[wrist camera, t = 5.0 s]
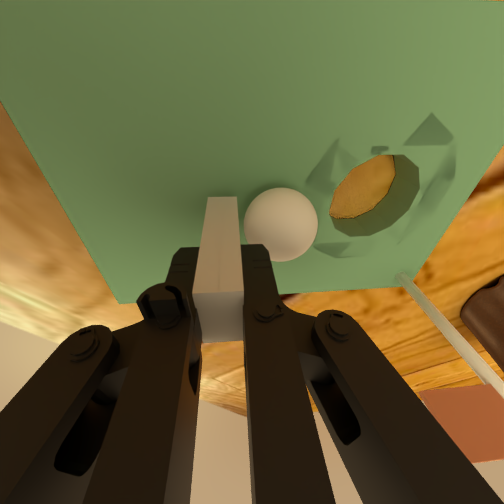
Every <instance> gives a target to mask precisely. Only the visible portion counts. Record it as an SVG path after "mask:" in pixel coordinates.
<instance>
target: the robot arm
mask: <svg viewBox="0 0 504 504" xmlns="http://www.w3.org/2000/svg"><path fill="white" fill-rule="evenodd" d="M170 265H171V266H170V267H169V271H168V274H167V277H166V280H165V282H164V283H158V284H156V285H153V286H151V287H149V288H147V289H146V290H145V291H144V292H142V293H141V294H140V296H139V297H138V299H137V300H136V303H137V305H138V307H139V309H140V311H141V313H142V315H143V317H144V320H142V321H140V322H138V323H136V324H133V325H130V326H127V327H124V328H121V329H118V330H115V331H112V332H111V330H110V329H109V328H108V327H106V326H103V325H91V326H88V327H85V328H82V329H80V330H78V331H76V332H75V333H73V334H71V335H70V336H69V337H68V338H67V339H65V340H64V341H63V342H62V343H61V344H60V345H59V346H58V348H57V349H56V350H55V351H54V352H53V353H52V354H51V355H50V357H49V358H48V359H47V360H46V361H45V363H43V365H42V366H41V367H40V368H39V369H38V370H37V371H36V372H35V374H34V375H33V376H32V377H31V378H30V379H29V381H28V382H27V383H26V384H25V385H24V386H23V387H22V389H20V391H19V392H18V393H17V394H16V395H15V396H14V397H13V398H12V400H11V401H10V402H9V403H8V404H7V405H6V406H5V408H4V409H3V410H2V411H1V412H0V504H190V494H191V483H192V471H193V459H194V448H195V436H196V426H197V414H198V403H199V391H200V380H201V369H202V353H201V342H202V340H203V343H212V342H226V341H240V340H243V342H244V367H245V385H246V403H247V420H248V439H249V455H250V456H249V457H250V474H251V493H252V504H336V503H335V499H334V495H333V491H332V487H331V483H330V479H329V475H328V471H327V467H326V463H325V459H324V455H323V451H322V447H321V443H320V439H319V435H318V431H317V428H316V423H315V419H314V415H313V411H312V407H311V403H310V399H309V395H308V391H307V388H308V390H309V392H310V394H311V396H312V398H313V400H314V402H315V404H316V406H317V408H318V411H319V413H320V415H321V416H322V419H323V421H324V423H325V425H326V427H327V429H328V431H329V433H330V435H331V438H332V440H333V442H334V444H335V446H336V448H337V450H338V452H339V454H340V456H341V458H342V461H343V462H344V465H345V467H346V469H347V471H348V473H349V475H350V477H351V479H352V481H353V483H354V485H355V488H356V490H357V492H358V494H359V496H360V498H361V500H362V502H363V504H504V503H503V502H502V500H501V499H500V498H499V497H498V495H497V494H496V493H495V492H494V491H493V489H492V488H491V487H490V486H489V484H488V483H487V482H486V481H485V479H484V478H483V477H482V476H481V475H480V473H479V472H478V471H477V470H476V468H475V467H474V466H473V465H472V463H471V462H470V461H469V460H468V458H467V457H466V456H465V455H464V453H463V452H462V451H461V450H460V448H459V447H458V446H457V445H456V444H455V442H454V441H453V440H452V439H451V437H450V436H449V435H448V434H447V432H446V431H445V430H444V429H443V427H442V426H441V425H440V424H439V423H438V421H437V420H436V419H435V418H434V416H433V415H432V414H431V413H430V411H429V410H428V409H427V408H426V407H425V405H424V404H423V403H422V402H421V400H420V399H419V398H418V397H417V395H416V394H415V393H414V392H413V390H412V389H411V388H410V387H409V386H408V384H407V383H406V382H405V381H404V379H403V378H402V377H401V376H400V374H399V373H398V372H397V371H396V369H395V368H394V367H393V366H392V365H391V363H390V362H389V361H388V360H387V358H386V357H385V356H384V355H383V353H382V352H381V351H380V350H379V348H378V347H377V346H376V345H375V344H374V342H373V341H372V340H371V339H370V337H369V336H368V335H367V334H366V332H365V331H364V330H363V329H362V327H361V326H360V325H359V324H358V323H357V322H356V321H355V320H354V319H353V318H352V317H351V316H350V315H348V314H346V313H344V312H342V311H338V310H325V311H323V312H321V313H319V314H318V316H317V317H314V316H310V315H306V314H301V313H298V312H295V311H293V310H291V309H289V308H288V307H287V306H286V305H285V304H284V303H283V302H282V301H281V299H280V296H279V293H278V289H277V284H276V280H275V276H274V272H273V268H272V263H271V259H270V255H269V251H268V250H267V249H266V247H265V246H264V245H263V244H241V245H240V233H239V220H238V207H237V197H208V200H207V206H206V212H205V218H204V224H203V230H202V237H201V243H200V247H180V249H179V250H178V251H177V252H176V253H175V254H174V255H173V258H172V261H171V264H170ZM305 383H306V384H305ZM306 386H307V387H306Z"/></svg>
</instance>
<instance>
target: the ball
mask: <svg viewBox="0 0 504 504" xmlns="http://www.w3.org/2000/svg"><path fill="white" fill-rule="evenodd" d="M317 228H318V219H317V214H316V211H315V209H314V207H313V205H312V203H311V202H310V201H309V200H308V199H307V198H306V197H305V196H304V195H303V194H301V193H300V192H298V191H296V190H293V189H290V188H273V189H269V190H267V191H265V192H263V193H261V194H260V195H258V196H257V197H256V198H255V199H254V200H253V201H252V202H251V204H250V205H249V207H248V209H247V211H246V213H245V217H244V233H245V237H246V240H247V242H248V244H263V245H264V246H265V247H266V249H267V250H268V251H269V255H270V259H271V261H276V262H284V261H289V260H293V259H295V258H297V257H299V256H301V255H302V254H304V253H305V252H306V251H307V250H308V249H309V247H310V246H311V245H312V243H313V241H314V239H315V237H316V234H317Z"/></svg>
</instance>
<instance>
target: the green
mask: <svg viewBox="0 0 504 504" xmlns="http://www.w3.org/2000/svg"><path fill="white" fill-rule="evenodd" d="M0 101H1V103H2V105H3V106H4V108H5V110H6V112H7V113H8V115H9V117H10V118H11V120H12V122H13V124H14V125H15V127H16V129H17V130H18V132H19V134H20V135H21V137H22V139H23V141H24V142H25V144H26V146H27V147H28V149H29V151H30V153H31V154H32V156H33V158H34V159H35V161H36V163H37V165H38V166H39V168H40V170H41V171H42V173H43V175H44V177H45V178H46V180H47V182H48V183H49V185H50V187H51V189H52V190H53V192H54V194H55V195H56V197H57V199H58V201H59V202H60V204H61V206H62V207H63V209H64V211H65V212H66V214H67V216H68V218H69V219H70V221H71V223H72V224H73V226H74V228H75V230H76V231H77V233H78V235H79V236H80V238H81V240H82V242H83V243H84V245H85V247H86V248H87V250H88V252H89V254H90V255H91V257H92V259H93V260H94V262H95V264H96V266H97V267H98V269H99V271H100V272H101V274H102V276H103V278H104V279H105V281H106V283H107V284H108V286H109V288H110V289H111V291H112V293H113V295H114V296H115V298H116V300H117V301H118V303H119V304H128V303H136V300H137V299H138V297H139V296H140V294H141V293H142V292H144V291H145V290H146V289H147V288H149V287H151V286H153V285H156V284H158V283H164V282H165V280H166V277H167V274H168V271H169V267H170V266H171V265H170V264H171V261H172V258H173V255H174V254H175V253H176V252H177V251H178V250H179V249H180V247H200V243H201V237H202V230H203V224H204V218H205V212H206V206H207V200H208V197H237V207H238V220H239V233H240V245H241V244H248V242H247V240H246V237H245V233H244V217H245V213H246V211H247V209H248V207H249V205H250V204H251V202H252V201H253V200H254V199H255V198H256V197H257V196H258V195H260V194H261V193H263V192H265V191H267V190H269V189H273V188H290V189H293V190H296V191H298V192H300V193H301V194H303V195H304V196H305V197H306V198H307V199H308V200H309V201H310V202H311V203H312V205H313V207H314V209H315V211H316V214H317V219H318V228H317V234H316V237H315V239H314V241H313V243H312V245H311V246H310V247H309V249H308V250H307V251H306V252H305V253H304V254H302V255H301V256H299V257H297V258H295V259H293V260H289V261H284V262H276V261H271V263H272V268H273V272H274V276H275V280H276V284H277V289H278V293H279V294H290V293H306V292H323V291H339V290H355V289H371V288H388V287H403V286H402V285H401V284H400V282H399V281H398V280H397V279H396V278H395V276H396V274H398V273H399V272H405V273H406V275H407V276H408V277H409V278H410V279H411V280H413V279H414V277H415V276H416V274H417V273H418V272H419V270H420V269H421V267H422V266H423V264H424V263H425V261H426V260H427V258H428V257H429V255H430V254H431V252H432V251H433V249H434V248H435V246H436V245H437V243H438V242H439V240H440V239H441V237H442V236H443V234H444V233H445V231H446V230H447V228H448V227H449V225H450V224H451V222H452V221H453V219H454V218H455V216H456V215H457V213H458V212H459V210H460V209H461V208H462V206H463V205H464V203H465V202H466V200H467V199H468V197H469V196H470V194H471V193H472V191H473V190H474V188H475V187H476V185H477V184H478V182H479V181H480V179H481V178H482V176H483V175H484V173H485V172H486V170H487V169H488V167H489V166H490V164H491V163H492V161H493V160H494V158H495V157H496V155H497V154H498V152H499V151H500V149H501V148H502V146H503V145H504V1H489V0H0ZM377 155H393V156H394V163H395V171H396V175H395V178H394V180H393V182H392V185H391V187H390V190H389V192H388V194H387V195H386V196H385V197H384V198H383V199H382V200H381V201H380V202H379V203H378V204H377V205H376V206H375V207H374V208H373V209H372V210H370V211H368V212H366V213H364V214H362V215H360V216H358V217H356V218H350V219H335V218H333V217H332V216H330V214H329V210H330V206H331V202H332V198H333V194H334V190H335V189H336V188H337V187H338V186H339V184H340V183H341V182H342V181H343V180H344V178H345V177H346V176H347V175H348V174H349V172H350V171H351V170H352V169H353V168H355V167H357V166H359V165H360V164H362V163H364V162H366V161H368V160H370V159H372V158H374V157H375V156H377Z"/></svg>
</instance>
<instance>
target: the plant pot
mask: <svg viewBox="0 0 504 504" xmlns="http://www.w3.org/2000/svg"><path fill="white" fill-rule="evenodd" d="M461 319H462V321H463V322H464V323H465V325H466V326H467V327H468V328H469V329H470V331H471V332H472V333H473V334H474V335H475V337H476V338H477V339H478V341H479V342H480V343H481V344H482V346H483V347H484V348H485V349H486V351H487V352H488V353H489V354H490V356H491V357H492V358H493V359H494V361H495V362H496V363H497V364H498V366H499V367H500V368H501V369H502V371H503V372H504V276H503V277H501V278H500V279H499V282H498V284H497V285H496V286H494V287H492V288H488V289H481V290H479V291H478V292H477V293H476V294H475V295H474V296H473V297H471V299H470V300H469V301H468V302H467V303H466V304H465V306H464V307H463V309H462V312H461Z"/></svg>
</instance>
